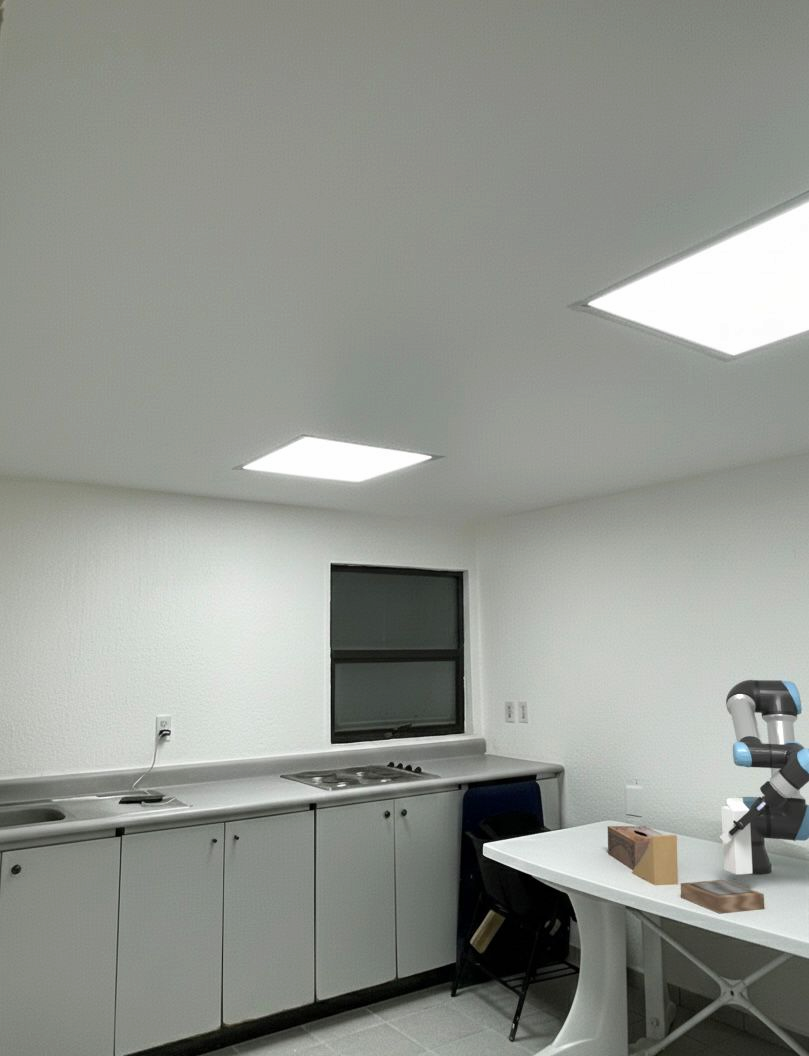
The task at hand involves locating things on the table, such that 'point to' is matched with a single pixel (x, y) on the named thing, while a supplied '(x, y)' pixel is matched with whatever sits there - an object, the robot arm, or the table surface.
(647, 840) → the tissue box cover
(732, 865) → the milk
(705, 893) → the walnut plinth
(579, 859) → the table surface
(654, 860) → the sandwich container
